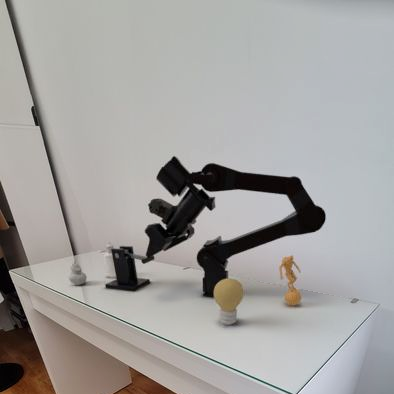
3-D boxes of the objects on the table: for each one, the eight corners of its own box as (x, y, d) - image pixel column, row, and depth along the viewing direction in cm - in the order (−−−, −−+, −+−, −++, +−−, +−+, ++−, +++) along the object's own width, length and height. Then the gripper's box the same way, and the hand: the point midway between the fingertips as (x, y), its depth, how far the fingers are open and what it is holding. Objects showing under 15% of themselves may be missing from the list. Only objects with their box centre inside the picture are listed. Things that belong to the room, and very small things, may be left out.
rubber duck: (75, 287, 93) (69, 262, 89) (67, 284, 97) (60, 260, 93) (91, 283, 96) (85, 259, 92) (82, 280, 100) (76, 257, 96)
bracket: (150, 282, 94) (145, 245, 88) (134, 291, 87) (128, 251, 81) (122, 280, 98) (116, 244, 92) (105, 288, 91) (97, 249, 85)
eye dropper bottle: (114, 279, 99) (107, 243, 93) (105, 276, 103) (98, 241, 97) (124, 276, 102) (118, 241, 96) (116, 274, 106) (109, 239, 99)
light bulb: (224, 314, 69) (224, 273, 64) (247, 321, 65) (249, 277, 60) (208, 324, 64) (207, 280, 59) (232, 331, 61) (233, 285, 56)
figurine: (289, 311, 69) (296, 260, 63) (269, 305, 73) (273, 257, 66) (307, 302, 73) (315, 254, 67) (287, 297, 77) (292, 251, 71)
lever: (154, 262, 87) (154, 254, 86) (145, 266, 83) (145, 257, 82) (124, 255, 90) (123, 247, 89) (114, 258, 87) (113, 250, 85)
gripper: (182, 185, 80) (153, 227, 89) (146, 186, 65) (116, 237, 74) (209, 216, 81) (177, 254, 90) (179, 224, 66) (145, 269, 76)
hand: (155, 253), depth 83 cm, fingers open, 9 cm apart
